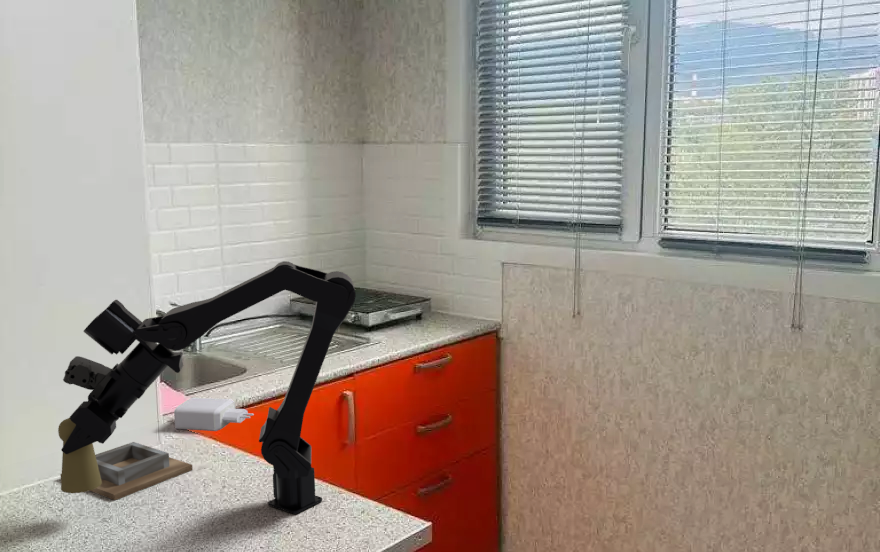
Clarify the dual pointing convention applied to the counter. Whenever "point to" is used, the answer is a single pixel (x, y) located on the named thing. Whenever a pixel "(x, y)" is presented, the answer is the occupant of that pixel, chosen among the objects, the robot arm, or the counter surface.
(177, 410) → the charger
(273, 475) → the robot arm
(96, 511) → the counter surface
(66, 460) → the cork
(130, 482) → the socket base
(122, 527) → the counter surface
